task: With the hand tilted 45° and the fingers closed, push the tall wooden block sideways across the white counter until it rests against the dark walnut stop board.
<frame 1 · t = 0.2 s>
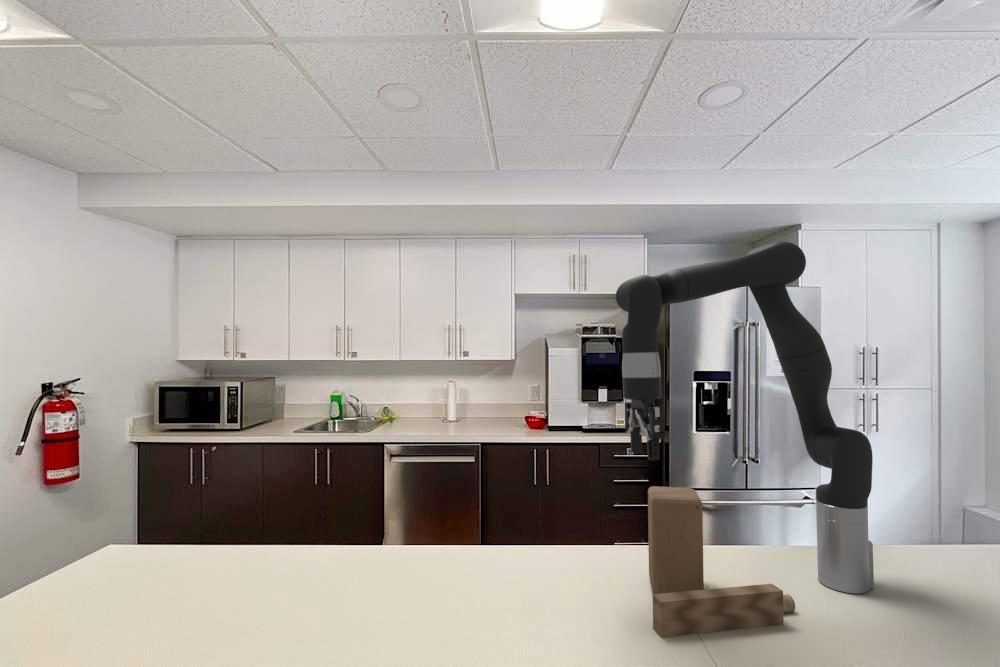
hand: (644, 456, 104), 29 cm above the countertop, tool pointing down, fingers open, 8 cm apart
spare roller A: (751, 602, 103), on the countertop
wooden block: (675, 588, 109), on the countertop
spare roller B: (766, 613, 98), on the countertop
stop board: (718, 626, 93), on the countertop
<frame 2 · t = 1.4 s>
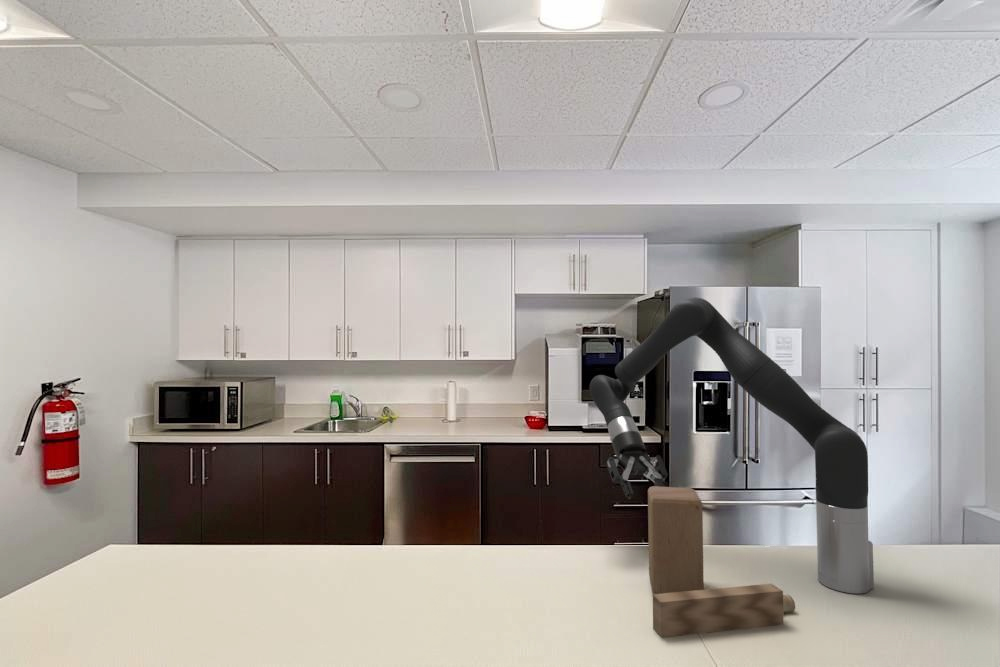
hand: (647, 496, 121), 16 cm above the countertop, tool tilted 45°, fingers open, 7 cm apart
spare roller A: (751, 601, 103), on the countertop, tilted 25°
everything else where it was.
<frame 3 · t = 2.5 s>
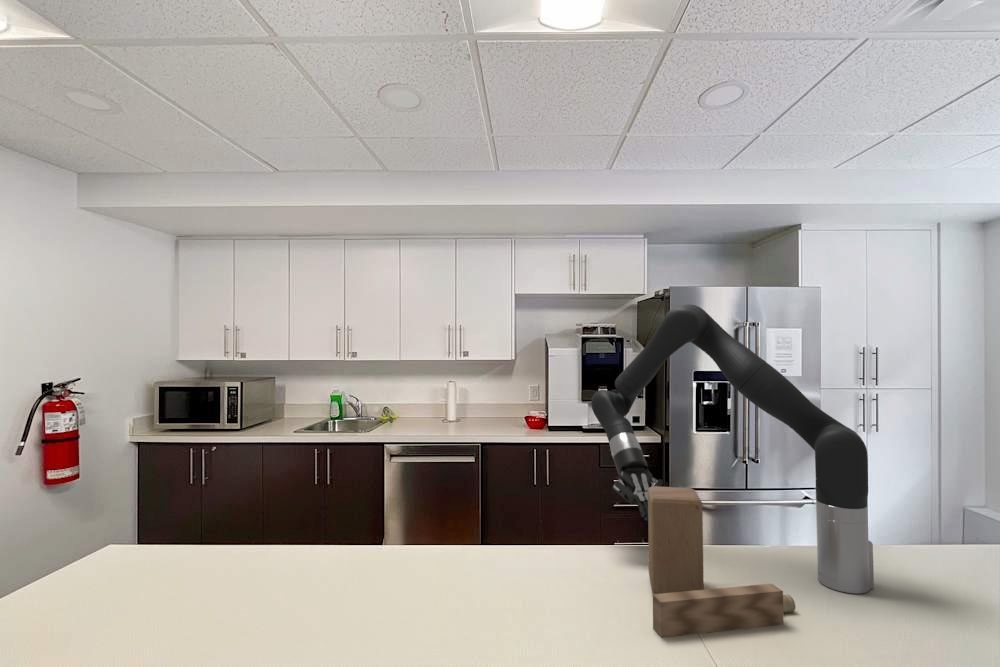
hand: (649, 518, 120), 11 cm above the countertop, tool tilted 45°, fingers closed
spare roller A: (751, 598, 103), on the countertop, tilted 59°
everything else where it was.
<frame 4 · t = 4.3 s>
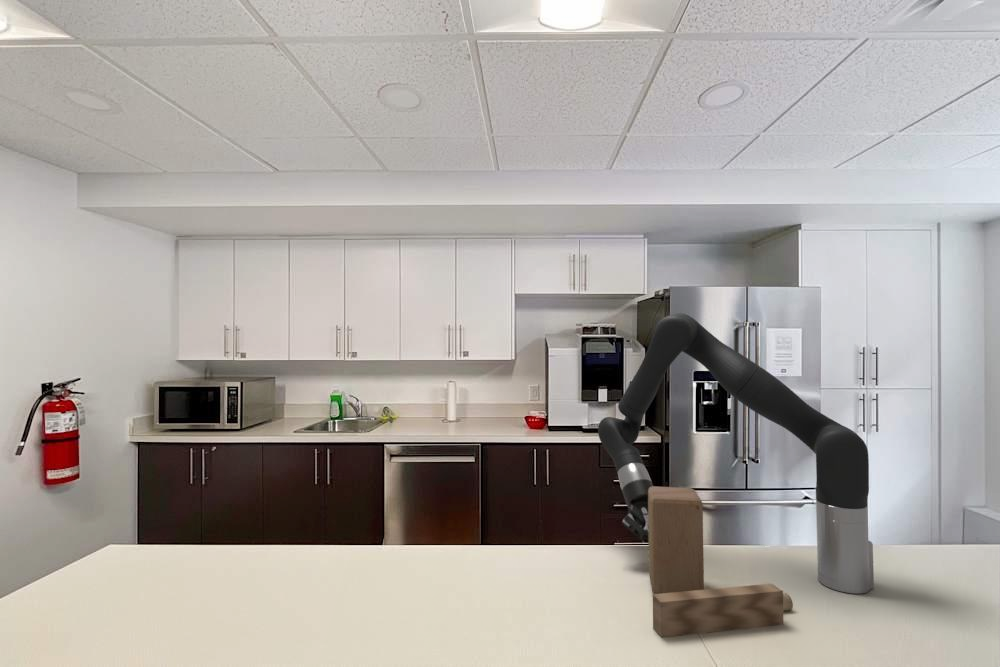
hand: (661, 555, 115), 4 cm above the countertop, tool tilted 45°, fingers closed
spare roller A: (751, 602, 103), on the countertop
wooden block: (675, 589, 108), on the countertop, touching gripper
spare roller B: (766, 612, 98), on the countertop, tilted 27°
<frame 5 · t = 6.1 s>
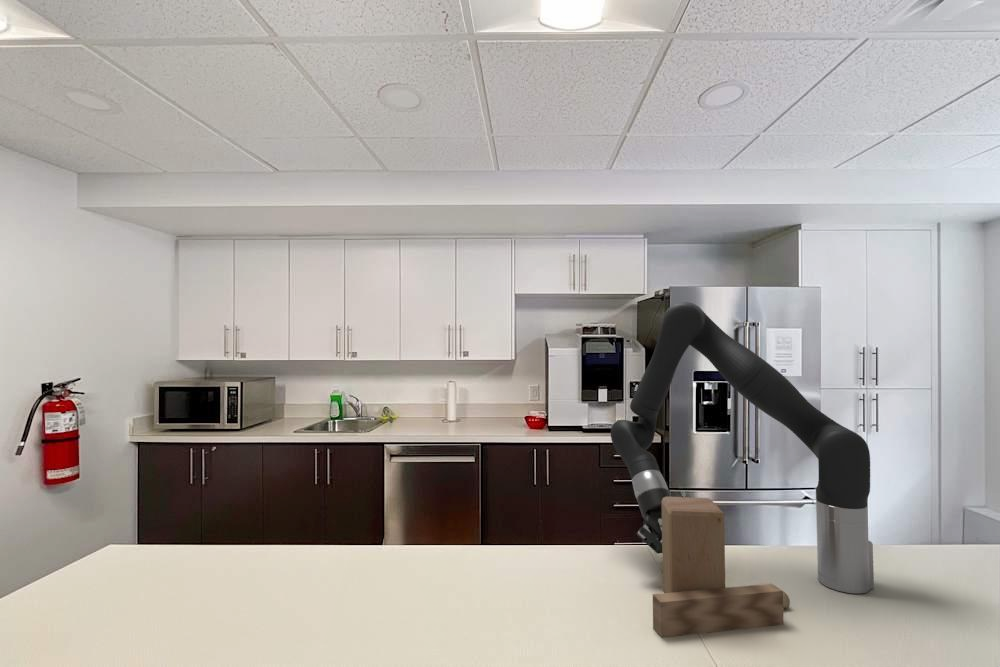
hand: (679, 571, 107), 4 cm above the countertop, tool tilted 45°, fingers closed
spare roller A: (751, 602, 103), on the countertop, tilted 8°
wooden block: (692, 607, 101), on the countertop, touching gripper, stop board
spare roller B: (766, 609, 99), on the countertop, tilted 59°
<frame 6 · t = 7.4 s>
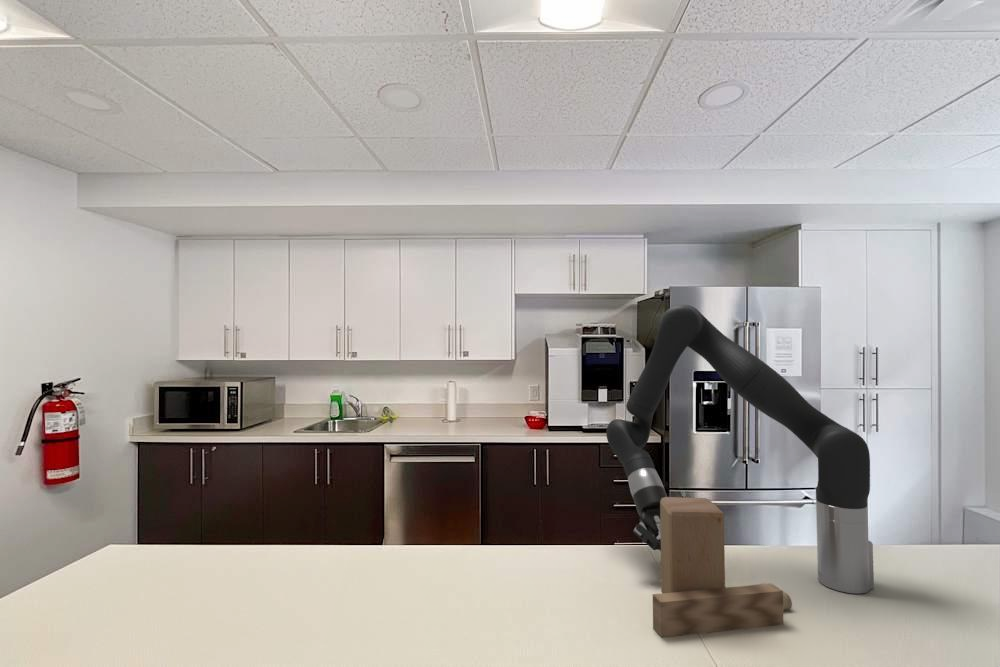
hand: (675, 567, 108), 4 cm above the countertop, tool tilted 45°, fingers closed
wooden block: (692, 608, 100), on the countertop
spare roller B: (766, 611, 98), on the countertop, tilted 37°
everything else where it was.
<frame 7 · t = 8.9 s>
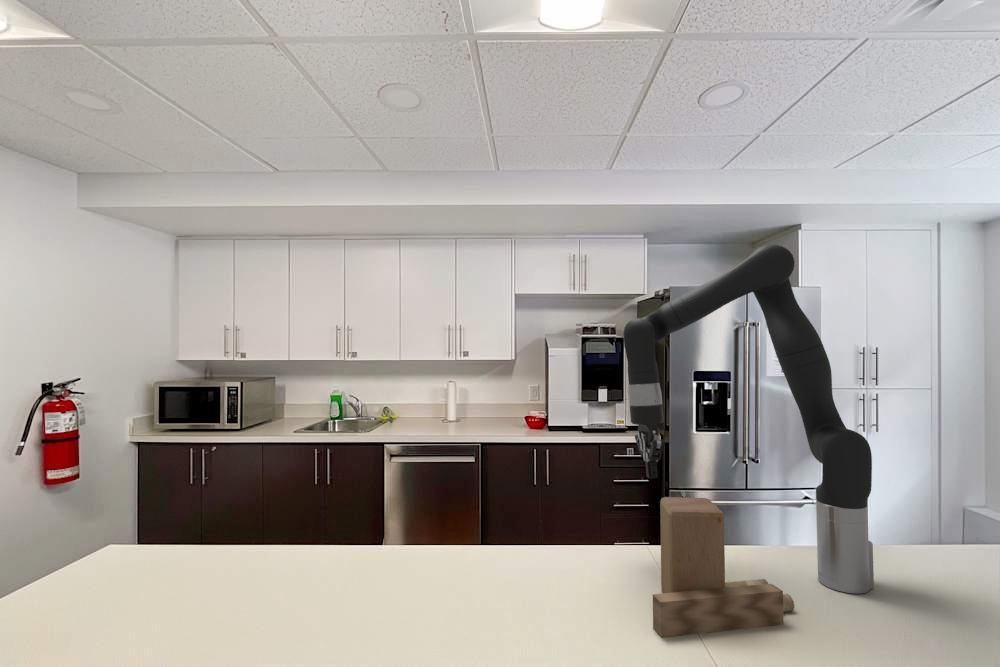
hand: (652, 477, 120), 20 cm above the countertop, tool pointing down, fingers closed
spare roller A: (748, 591, 104), point 1 cm above the countertop, tilted 99°
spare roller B: (766, 613, 98), on the countertop, tilted 10°
everything else where it was.
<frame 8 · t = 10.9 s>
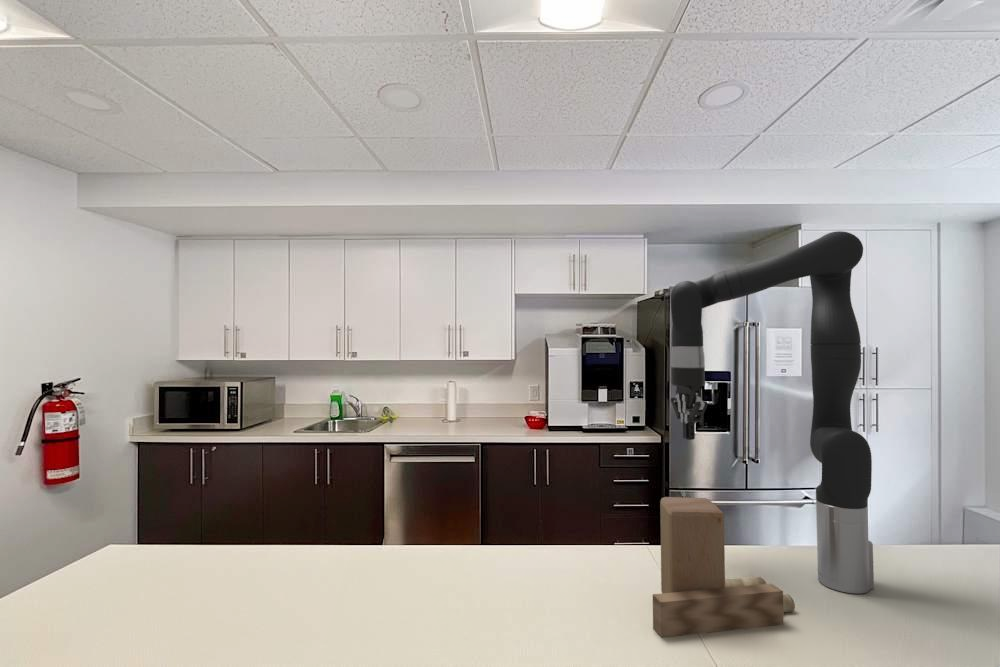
hand: (688, 438, 122), 29 cm above the countertop, tool pointing down, fingers closed
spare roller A: (743, 583, 105), point 2 cm above the countertop, tilted 141°
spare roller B: (766, 613, 98), on the countertop
everything else where it was.
at the end: wooden block inside the target area (1.9 cm from its centre), on the countertop; wooden block tilted 0° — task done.
